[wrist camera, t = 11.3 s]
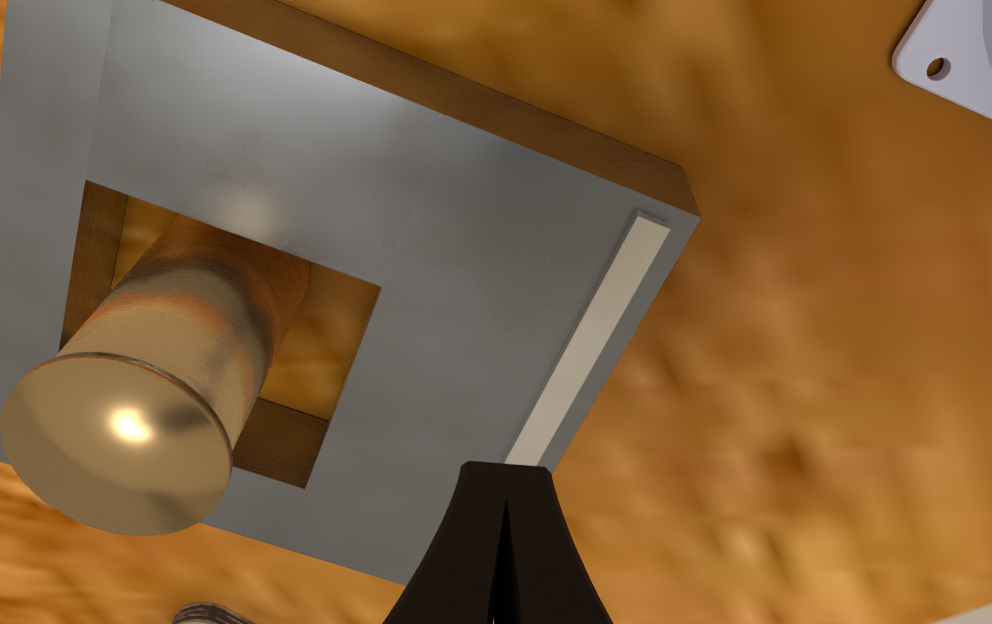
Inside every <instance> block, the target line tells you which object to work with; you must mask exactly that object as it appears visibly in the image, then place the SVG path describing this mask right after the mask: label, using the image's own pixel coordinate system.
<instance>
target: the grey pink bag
mask: <svg viewBox="0 0 992 624" xmlns="http://www.w3.org/2000/svg"><path fill="white" fill-rule="evenodd" d="M172 624H254V623H253V622H251V621H249V620H247V619H245V618H243V617H242V616H240V615H238V614H236V613H234V612H232V611H230V610H229V609H227V608H225V607H222V606H219V605H217V604H212V603H204V602H203V603H195V604H190V605H188V606H186V607H183V608H182V609H181V610H179V611H178V612H177V613H176V615H175V617H174V619H173V622H172Z"/></svg>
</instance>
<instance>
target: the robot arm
mask: <svg viewBox="0 0 992 624" xmlns="http://www.w3.org/2000/svg"><path fill="white" fill-rule="evenodd" d="M938 58H943V59H944V65H943V67H942V69H941V70H940V71H939V72H938V73H937V74H935V75H933V76H927V72H926V71H927V68H928V65H929V64H930V63H931V62H932V61H933V60H935V59H938ZM892 67H893V69H894V71H895V73H896V74H898V75H899V76H900V77H902V78H903V79H904V80H906V81H908V82H910V83H912V84H914V85H916V86H919V87H921V88H923V89H925V90H928V91H930V92H932V93H934V94H936V95H939V96H941V97H943V98H945V99H948V100H950V101H952V102H954V103H957V104H959V105H961V106H963V107H965V108H968V109H970V110H972V111H974V112H977V113H979V114H981V115H983V116H985V117H988V118H990V119H992V0H927V1H926V2H925V4H924V5H923V7H922V8H921V10H920V11H919V13H918V14H917V16H916V18H915V19H914V21H913V22H912V24H911V25H910V27H909V28H908V30H907V32H906V33H905V35H904V36H903V38H902V39H901V41H900V42H899V44H898V46H897V47H896V49H895V51H894V53H893V56H892ZM493 619H494V624H613V622H612V620H611V618H610V617H609V615H608V613H607V611H606V609H605V607H604V605H603V603H602V602H601V600H600V598H599V596H598V594H597V592H596V590H595V588H594V586H593V584H592V582H591V580H590V578H589V576H588V573H587V571H586V569H585V567H584V564H583V562H582V560H581V558H580V556H579V553H578V551H577V549H576V547H575V544H574V542H573V539H572V537H571V535H570V532H569V529H568V527H567V524H566V521H565V519H564V516H563V513H562V510H561V507H560V504H559V501H558V498H557V495H556V491H555V488H554V484H553V480H552V474H551V472H550V471H549V470H548V469H547V468H546V467H543V466H530V465H517V464H504V463H491V462H479V461H467V462H466V463H464V464H463V465H461V468H460V473H459V477H458V481H457V484H456V487H455V490H454V493H453V496H452V498H451V501H450V503H449V506H448V508H447V510H446V513H445V515H444V517H443V520H442V522H441V524H440V526H439V528H438V530H437V532H436V534H435V536H434V538H433V540H432V542H431V544H430V546H429V548H428V550H427V552H426V554H425V556H424V557H423V559H422V561H421V563H420V565H419V566H418V568H417V570H416V571H415V573H414V575H413V576H412V578H411V580H410V581H409V583H408V585H407V586H406V588H405V590H404V591H403V593H402V595H401V596H400V598H399V599H398V601H397V603H396V604H395V606H394V607H393V609H392V610H391V612H390V613H389V615H388V616H387V618H386V619H385V621H384V622H383V623H382V624H493Z"/></svg>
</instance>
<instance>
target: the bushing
mask: <svg viewBox="0 0 992 624" xmlns="http://www.w3.org/2000/svg"><path fill="white" fill-rule="evenodd" d="M309 282H310V261H309V260H306V259H303V258H301V257H298V256H295V255H292V254H290V253H287V252H284V251H281V250H279V249H276V248H273V247H270V246H268V245H265V244H262V243H259V242H256V241H254V240H251V239H248V238H245V237H243V236H240V235H237V234H234V233H232V232H229V231H226V230H223V229H221V228H218V227H215V226H212V225H210V224H207V223H204V222H201V221H199V220H196V219H193V218H190V217H188V216H185V215H182V214H178V215H177V216H176V217H175V218H174V220H173V221H172V222H171V223H170V224H169V225H168V226H167V228H166V229H165V230H164V231H163V232H162V233H161V235H160V236H159V237H158V238H157V239H156V240H155V242H154V243H153V244H152V245H151V246H150V247H149V249H148V250H147V251H146V252H145V253H144V254H143V256H142V257H141V258H140V259H139V260H138V261H137V263H136V264H135V265H134V266H133V267H132V268H131V269H130V271H129V272H128V273H127V274H126V275H125V276H124V278H123V279H122V280H121V281H120V282H119V283H118V285H117V286H116V287H115V288H114V289H113V290H112V292H111V293H110V294H109V295H108V296H107V297H106V299H105V300H104V301H103V302H102V303H101V304H100V306H99V307H98V308H97V309H96V310H95V311H94V313H93V314H92V315H91V316H90V317H89V318H88V319H87V321H86V322H85V323H84V324H83V325H82V326H81V328H80V329H79V330H78V331H77V332H76V333H75V335H74V336H73V337H72V338H71V339H70V340H69V342H68V343H67V344H66V345H65V346H64V347H63V349H62V350H61V351H60V352H59V353H58V354H57V356H56V357H55V358H52V359H50V360H47V361H45V362H43V363H41V364H39V365H38V366H36V367H35V368H33V369H32V370H30V371H29V372H28V373H27V374H26V375H25V376H24V377H23V378H22V379H21V380H20V381H19V382H18V383H17V385H16V386H15V387H14V388H13V389H12V391H11V392H10V394H9V395H8V396H7V398H6V400H5V403H4V405H3V407H2V411H1V416H0V435H1V441H2V445H3V448H4V451H5V453H6V456H7V458H8V460H9V462H10V464H11V465H12V467H13V469H14V470H15V472H16V473H17V475H18V476H19V477H20V478H21V480H22V481H23V482H24V483H25V484H26V485H27V486H28V487H29V488H30V489H31V490H32V491H33V492H34V493H35V494H36V495H37V496H38V497H39V498H41V499H42V500H43V501H44V502H45V503H47V504H48V505H50V506H51V507H53V508H54V509H56V510H57V511H59V512H61V513H62V514H64V515H66V516H68V517H70V518H72V519H74V520H76V521H78V522H81V523H83V524H85V525H88V526H91V527H94V528H97V529H100V530H104V531H108V532H112V533H118V534H123V535H134V536H154V535H163V534H169V533H173V532H177V531H180V530H183V529H186V528H188V527H190V526H192V525H194V524H196V523H198V522H200V521H201V520H202V519H204V518H205V517H207V516H208V515H209V514H210V513H211V512H212V511H213V510H214V509H215V508H216V506H217V505H218V503H219V502H220V500H221V499H222V496H223V494H224V492H225V490H226V488H227V485H228V483H229V481H230V478H231V474H232V468H233V454H232V451H233V449H234V447H235V444H236V442H237V440H238V438H239V436H240V434H241V432H242V429H243V427H244V425H245V423H246V421H247V419H248V416H249V414H250V412H251V410H252V408H253V406H254V404H255V401H256V399H257V397H258V395H259V393H260V391H261V388H262V386H263V384H264V382H265V380H266V378H267V376H268V373H269V371H270V369H271V367H272V365H273V363H274V361H275V358H276V356H277V354H278V352H279V350H280V348H281V345H282V343H283V341H284V339H285V337H286V335H287V333H288V330H289V328H290V326H291V324H292V322H293V320H294V317H295V315H296V313H297V311H298V309H299V307H300V305H301V302H302V300H303V298H304V296H305V294H306V291H307V289H308V286H309Z"/></svg>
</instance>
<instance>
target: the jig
mask: <svg viewBox="0 0 992 624" xmlns="http://www.w3.org/2000/svg"><path fill="white" fill-rule="evenodd" d="M128 195H130V196H133V197H135V198H138V199H141V200H144V201H146V202H149V203H152V204H155V205H157V206H160V207H163V208H166V209H168V210H171V211H174V212H177V213H179V214H182V215H185V216H188V217H190V218H193V219H196V220H199V221H201V222H204V223H207V224H210V225H212V226H215V227H218V228H221V229H223V230H226V231H229V232H232V233H234V234H237V235H240V236H243V237H245V238H248V239H251V240H254V241H256V242H259V243H262V244H265V245H268V246H270V247H273V248H276V249H279V250H281V251H284V252H287V253H290V254H292V255H295V256H298V257H301V258H303V259H306V260H309V261H312V262H314V263H317V264H320V265H323V266H325V267H328V268H331V269H334V270H336V271H339V272H342V273H345V274H347V275H350V276H353V277H356V278H358V279H361V280H364V281H367V282H369V283H372V284H375V285H378V286H379V289H378V291H377V294H376V297H375V299H374V302H373V305H372V307H371V310H370V312H369V315H368V318H367V320H366V323H365V326H364V328H363V331H362V333H361V336H360V339H359V341H358V344H357V347H356V349H355V352H354V354H353V357H352V360H351V362H350V365H349V368H348V370H347V373H346V375H345V378H344V381H343V383H342V386H341V389H340V391H339V394H338V397H337V399H336V402H335V404H334V407H333V410H332V412H331V415H330V418H329V420H328V421H325V420H322V419H319V418H316V417H313V416H310V415H307V414H304V413H301V412H298V411H295V410H292V409H289V408H286V407H283V406H280V405H277V404H274V403H271V402H268V401H265V400H262V399H259V398H257V399H256V401H255V404H254V406H253V408H252V410H251V412H250V414H249V416H248V419H247V421H246V423H245V425H244V427H243V429H242V432H241V434H240V436H239V438H238V440H237V442H236V444H235V447H234V449H233V451H232V454H233V468H232V474H231V478H230V481H229V483H228V485H227V488H226V490H225V492H224V494H223V496H222V499H221V500H220V502H219V503H218V505H217V506H216V508H215V509H214V510H213V511H212V512H211V513H210V514H209V515H208V516H207V517H205V518H204V519H202V520H201V521H200V522H199V523H203V524H206V525H209V526H213V527H216V528H219V529H222V530H226V531H229V532H232V533H235V534H239V535H242V536H245V537H248V538H252V539H255V540H258V541H262V542H265V543H268V544H271V545H275V546H278V547H281V548H284V549H288V550H291V551H294V552H297V553H301V554H304V555H307V556H311V557H314V558H317V559H320V560H324V561H327V562H330V563H333V564H337V565H340V566H343V567H346V568H350V569H353V570H356V571H360V572H363V573H366V574H369V575H373V576H376V577H379V578H382V579H386V580H389V581H392V582H395V583H399V584H402V585H405V586H407V585H408V583H409V581H410V580H411V578H412V576H413V575H414V573H415V571H416V570H417V568H418V566H419V565H420V563H421V561H422V559H423V557H424V556H425V554H426V552H427V550H428V548H429V546H430V544H431V542H432V540H433V538H434V536H435V534H436V532H437V530H438V528H439V526H440V524H441V522H442V520H443V517H444V515H445V513H446V510H447V508H448V506H449V503H450V501H451V498H452V496H453V493H454V490H455V487H456V484H457V481H458V477H459V473H460V468H461V465H463V464H464V463H466V462H467V461H479V462H491V463H504V464H517V465H530V466H543V467H546V468H547V469H548V470H549V471H550V472H551V474H552V473H553V471H554V470H555V468H556V466H557V464H558V463H559V461H560V459H561V458H562V456H563V454H564V452H565V451H566V449H567V447H568V446H569V444H570V442H571V440H572V439H573V437H574V435H575V434H576V432H577V430H578V428H579V427H580V425H581V423H582V422H583V420H584V418H585V417H586V415H587V413H588V411H589V410H590V408H591V406H592V405H593V403H594V401H595V399H596V398H597V396H598V394H599V393H600V391H601V389H602V387H603V386H604V384H605V382H606V381H607V379H608V377H609V375H610V374H611V372H612V370H613V369H614V367H615V365H616V364H617V362H618V360H619V358H620V357H621V355H622V353H623V352H624V350H625V348H626V346H627V345H628V343H629V341H630V340H631V338H632V336H633V334H634V333H635V331H636V329H637V328H638V326H639V324H640V322H641V321H642V319H643V317H644V316H645V314H646V312H647V310H648V309H649V307H650V305H651V304H652V302H653V300H654V299H655V297H656V295H657V293H658V292H659V290H660V288H661V287H662V285H663V283H664V281H665V280H666V278H667V276H668V275H669V273H670V271H671V269H672V268H673V266H674V264H675V263H676V261H677V259H678V257H679V256H680V254H681V252H682V251H683V249H684V247H685V246H686V244H687V242H688V240H689V239H690V237H691V235H692V234H693V232H694V230H695V228H696V227H697V225H698V223H699V222H700V220H701V215H700V212H699V210H698V207H697V205H696V202H695V199H694V197H693V194H692V192H691V189H690V186H689V184H688V181H687V178H686V176H685V173H684V171H683V168H682V167H680V166H677V165H675V164H673V163H670V162H668V161H665V160H663V159H660V158H658V157H656V156H653V155H651V154H648V153H646V152H643V151H641V150H638V149H636V148H634V147H631V146H629V145H626V144H624V143H621V142H619V141H617V140H614V139H612V138H609V137H607V136H604V135H602V134H599V133H597V132H595V131H592V130H590V129H587V128H585V127H582V126H580V125H578V124H575V123H573V122H570V121H568V120H565V119H563V118H561V117H558V116H556V115H553V114H551V113H548V112H546V111H543V110H541V109H539V108H536V107H534V106H531V105H529V104H526V103H524V102H522V101H519V100H517V99H514V98H512V97H509V96H507V95H505V94H502V93H500V92H497V91H495V90H492V89H490V88H487V87H485V86H483V85H480V84H478V83H475V82H473V81H470V80H468V79H466V78H463V77H461V76H458V75H456V74H453V73H451V72H448V71H446V70H444V69H441V68H439V67H436V66H434V65H431V64H429V63H427V62H424V61H422V60H419V59H417V58H414V57H412V56H410V55H407V54H405V53H402V52H400V51H397V50H395V49H392V48H390V47H388V46H385V45H383V44H380V43H378V42H375V41H373V40H371V39H368V38H366V37H363V36H361V35H358V34H356V33H353V32H351V31H349V30H346V29H344V28H341V27H339V26H336V25H334V24H332V23H329V22H327V21H324V20H322V19H319V18H317V17H315V16H312V15H310V14H307V13H305V12H302V11H300V10H297V9H295V8H293V7H290V6H288V5H285V4H283V3H280V2H278V1H276V0H7V10H6V21H5V32H4V43H3V54H2V65H1V75H0V416H1V411H2V407H3V405H4V403H5V400H6V398H7V396H8V395H9V394H10V392H11V391H12V389H13V388H14V387H15V386H16V385H17V383H18V382H19V381H20V380H21V379H22V378H23V377H24V376H25V375H26V374H27V373H28V372H29V371H30V370H32V369H33V368H35V367H36V366H38V365H39V364H41V363H43V362H45V361H47V360H50V359H52V358H55V357H56V356H57V354H58V353H59V352H60V351H61V350H62V349H63V347H64V346H65V345H66V344H67V343H68V342H69V340H70V339H71V338H72V337H73V336H74V335H75V333H76V332H77V331H78V330H79V329H80V328H81V326H82V325H83V324H84V323H85V322H86V321H87V319H88V318H89V317H90V316H91V315H92V314H93V313H94V311H95V310H96V309H97V308H98V307H99V306H100V304H101V303H102V302H103V301H104V300H105V299H106V297H107V296H108V295H109V294H110V288H111V283H112V278H113V272H114V267H115V261H116V256H117V251H118V245H119V240H120V235H121V229H122V224H123V218H124V213H125V208H126V202H127V197H128ZM0 462H4V463H7V464H10V462H9V460H8V458H7V456H6V453H5V451H4V448H3V445H2V441H1V435H0ZM10 465H11V464H10Z"/></svg>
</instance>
